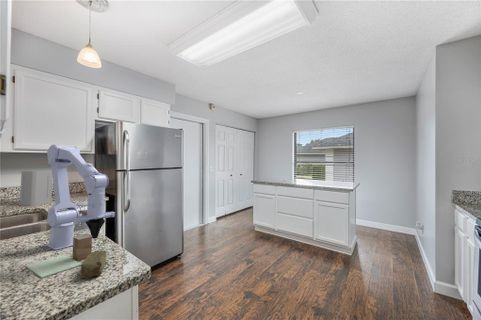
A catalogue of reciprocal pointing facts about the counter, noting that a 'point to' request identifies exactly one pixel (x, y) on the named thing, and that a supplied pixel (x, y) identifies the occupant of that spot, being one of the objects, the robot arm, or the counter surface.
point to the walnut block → (81, 246)
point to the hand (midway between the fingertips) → (94, 237)
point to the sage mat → (53, 266)
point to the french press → (82, 213)
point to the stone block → (93, 264)
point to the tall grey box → (36, 188)
